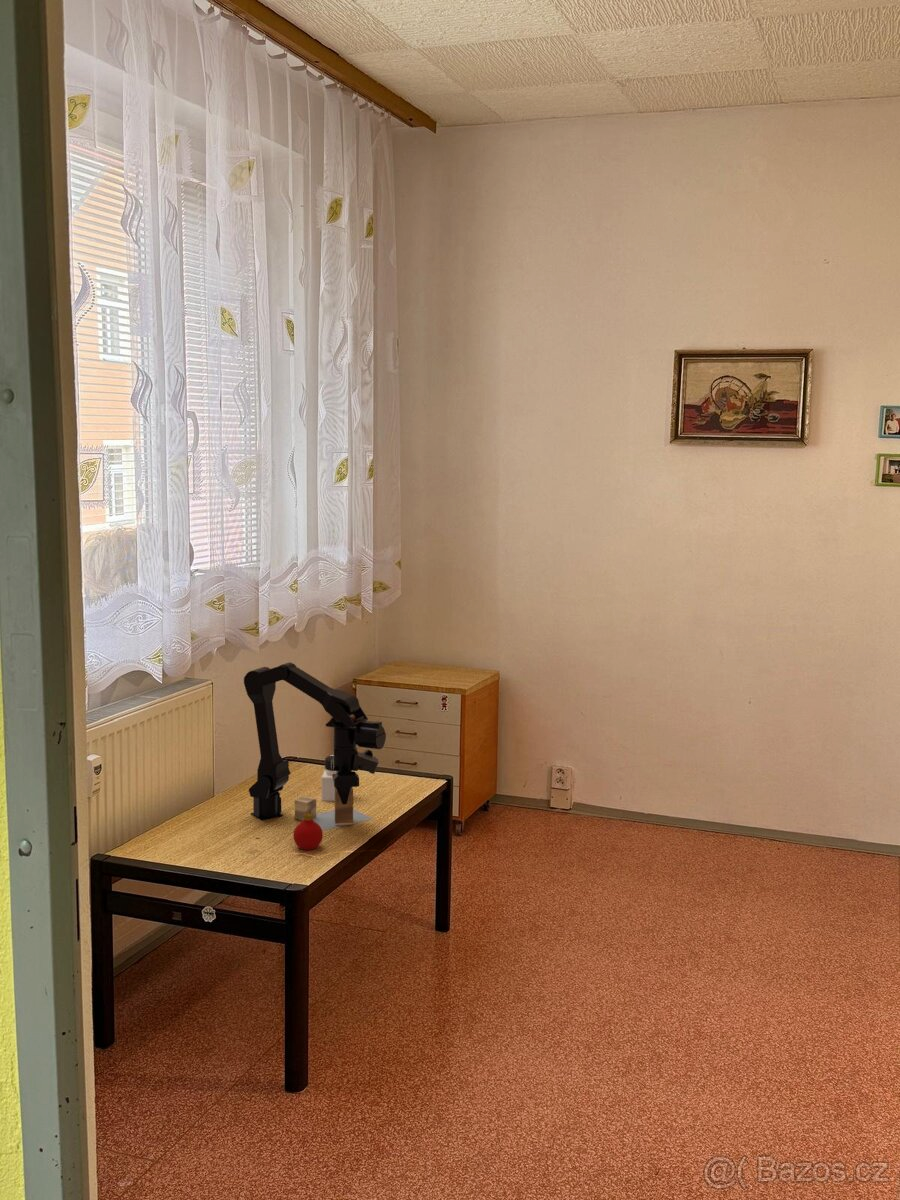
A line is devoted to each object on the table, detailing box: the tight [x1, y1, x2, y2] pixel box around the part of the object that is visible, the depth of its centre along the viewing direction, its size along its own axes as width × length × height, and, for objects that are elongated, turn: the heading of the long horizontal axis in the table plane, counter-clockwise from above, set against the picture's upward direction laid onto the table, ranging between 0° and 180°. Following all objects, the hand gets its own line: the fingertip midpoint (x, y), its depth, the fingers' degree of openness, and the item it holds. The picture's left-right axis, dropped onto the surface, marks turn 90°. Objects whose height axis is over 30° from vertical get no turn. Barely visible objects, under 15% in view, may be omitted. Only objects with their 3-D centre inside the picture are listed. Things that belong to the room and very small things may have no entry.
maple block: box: [294, 795, 317, 822], centre depth 298 cm, size 4×4×5 cm
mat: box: [300, 808, 374, 832], centre depth 298 cm, size 16×12×1 cm
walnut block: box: [334, 787, 354, 826], centre depth 295 cm, size 4×4×9 cm
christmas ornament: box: [293, 810, 324, 851], centre depth 276 cm, size 7×7×10 cm
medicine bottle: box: [321, 754, 336, 802], centre depth 315 cm, size 7×7×12 cm
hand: (344, 804), depth 291 cm, fingers closed
